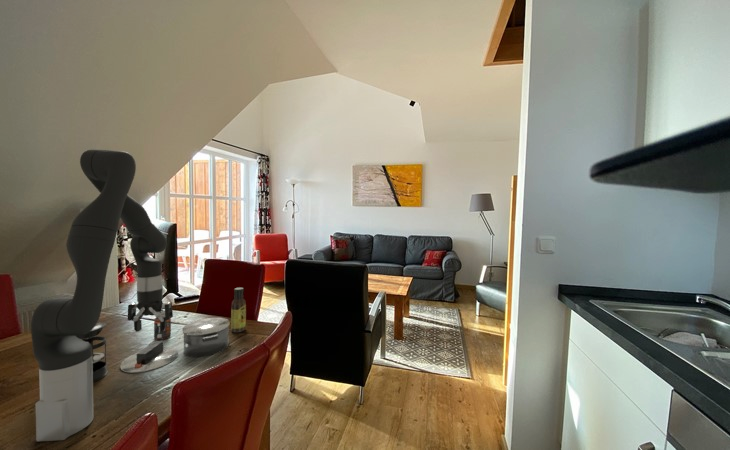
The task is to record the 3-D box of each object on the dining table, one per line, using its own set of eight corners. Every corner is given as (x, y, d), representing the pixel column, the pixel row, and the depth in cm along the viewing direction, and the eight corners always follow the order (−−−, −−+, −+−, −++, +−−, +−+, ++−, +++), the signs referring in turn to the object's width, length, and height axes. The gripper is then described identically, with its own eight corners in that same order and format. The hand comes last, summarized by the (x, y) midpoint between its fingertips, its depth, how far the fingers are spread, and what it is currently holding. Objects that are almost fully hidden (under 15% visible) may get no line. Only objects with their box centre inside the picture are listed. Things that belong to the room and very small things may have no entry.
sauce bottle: (243, 333, 128) (243, 290, 128) (229, 333, 127) (229, 290, 127) (247, 327, 135) (247, 286, 134) (233, 327, 134) (233, 286, 133)
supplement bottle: (162, 341, 119) (161, 315, 118) (150, 339, 120) (150, 313, 119) (174, 335, 125) (174, 310, 124) (163, 334, 126) (162, 309, 125)
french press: (111, 366, 99) (110, 302, 98) (109, 378, 92) (108, 309, 91) (62, 378, 92) (61, 309, 91) (56, 392, 84) (54, 317, 84)
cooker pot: (234, 352, 110) (234, 330, 110) (184, 365, 101) (183, 340, 100) (225, 332, 128) (225, 313, 128) (181, 341, 119) (181, 320, 118)
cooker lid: (160, 373, 96) (160, 358, 96) (107, 374, 95) (106, 359, 95) (187, 349, 113) (187, 336, 113) (142, 350, 112) (142, 337, 111)
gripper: (121, 290, 99) (122, 335, 99) (164, 290, 100) (165, 334, 101) (136, 285, 106) (137, 326, 107) (176, 284, 107) (177, 326, 108)
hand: (150, 330), depth 104 cm, fingers open, 8 cm apart
